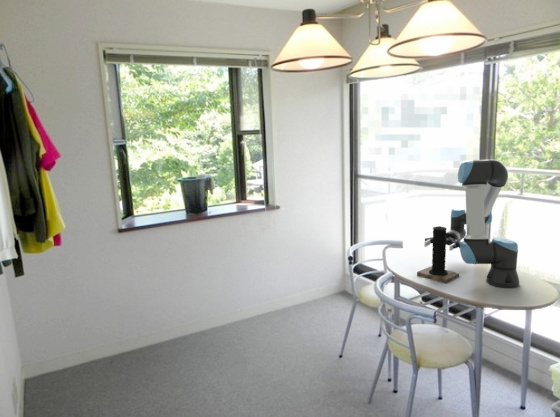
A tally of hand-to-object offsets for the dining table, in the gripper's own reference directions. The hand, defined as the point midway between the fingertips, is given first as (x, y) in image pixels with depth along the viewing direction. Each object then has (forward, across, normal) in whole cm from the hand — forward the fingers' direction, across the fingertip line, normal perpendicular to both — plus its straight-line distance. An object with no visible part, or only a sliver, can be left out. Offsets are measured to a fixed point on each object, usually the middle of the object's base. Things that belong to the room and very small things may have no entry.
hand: (437, 246), depth 217 cm
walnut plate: (-2, 0, -18) cm, 18 cm away
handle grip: (-2, 0, -16) cm, 16 cm away
